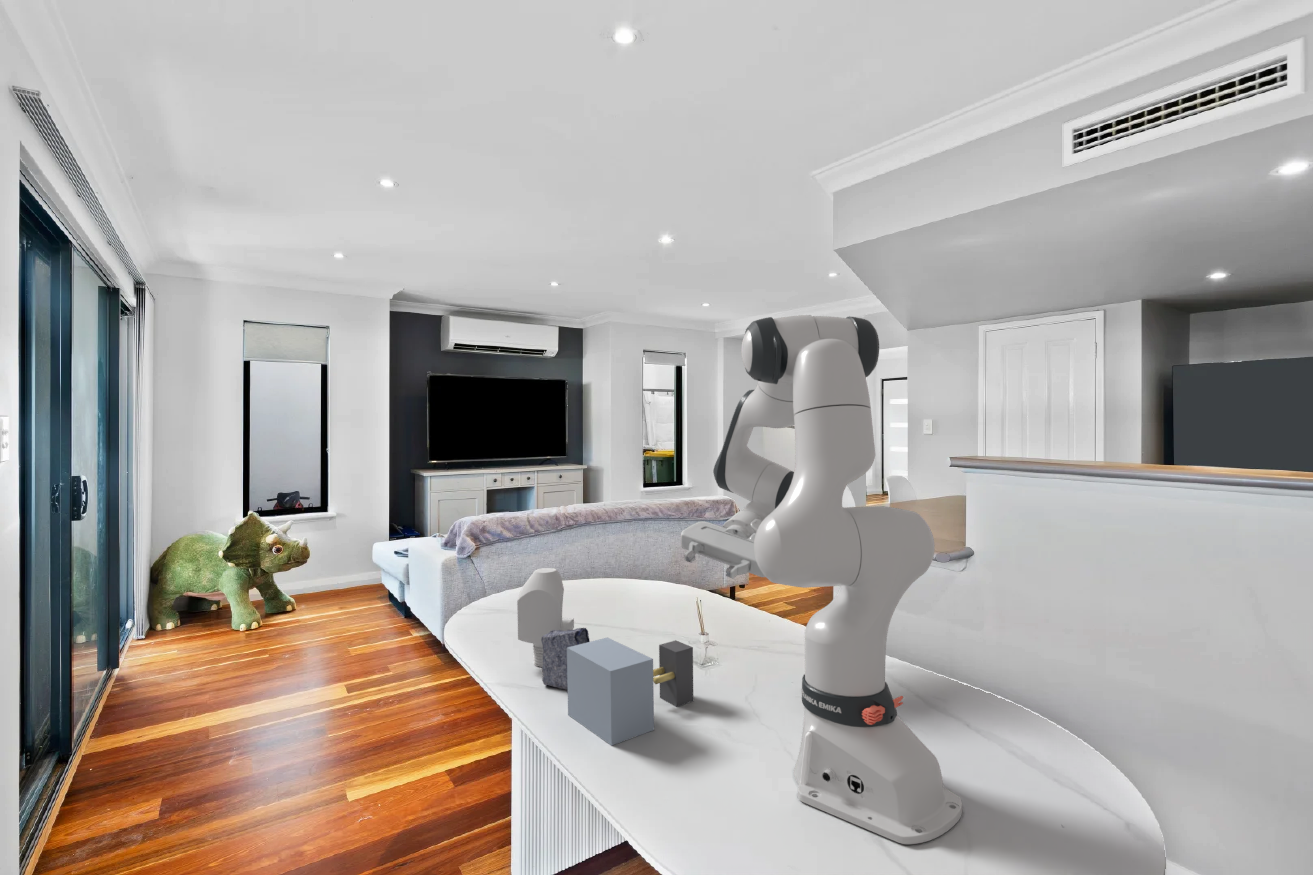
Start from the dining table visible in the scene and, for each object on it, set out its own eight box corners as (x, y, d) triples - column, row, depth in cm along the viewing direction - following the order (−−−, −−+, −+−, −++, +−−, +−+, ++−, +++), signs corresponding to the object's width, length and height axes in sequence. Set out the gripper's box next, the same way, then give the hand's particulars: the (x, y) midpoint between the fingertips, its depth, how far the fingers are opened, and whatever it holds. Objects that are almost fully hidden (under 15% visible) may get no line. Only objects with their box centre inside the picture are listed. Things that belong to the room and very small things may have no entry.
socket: (655, 729, 109) (654, 658, 109) (611, 745, 104) (610, 671, 103) (609, 701, 120) (608, 636, 120) (568, 714, 115) (566, 647, 115)
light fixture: (561, 671, 135) (559, 575, 134) (518, 669, 136) (516, 574, 136) (574, 655, 144) (572, 566, 144) (534, 653, 146) (532, 564, 145)
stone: (602, 686, 131) (584, 690, 122) (556, 691, 133) (536, 696, 124) (596, 625, 135) (578, 624, 126) (552, 631, 137) (531, 631, 128)
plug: (694, 700, 120) (693, 647, 120) (659, 713, 115) (658, 657, 115) (677, 691, 124) (676, 639, 124) (642, 703, 119) (641, 649, 119)
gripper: (701, 508, 140) (663, 536, 129) (788, 536, 128) (755, 569, 118) (700, 533, 142) (664, 563, 132) (786, 563, 131) (753, 598, 120)
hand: (707, 566), depth 125 cm, fingers open, 8 cm apart
